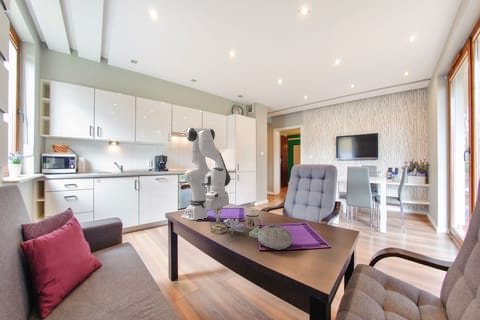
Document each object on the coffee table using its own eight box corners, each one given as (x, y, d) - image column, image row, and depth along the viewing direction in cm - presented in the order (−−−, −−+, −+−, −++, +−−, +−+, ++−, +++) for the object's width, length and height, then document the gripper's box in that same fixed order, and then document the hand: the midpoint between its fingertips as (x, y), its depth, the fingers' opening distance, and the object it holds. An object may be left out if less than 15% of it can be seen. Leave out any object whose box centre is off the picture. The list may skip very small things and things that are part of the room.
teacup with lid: (243, 227, 132) (243, 210, 132) (250, 224, 139) (250, 207, 139) (258, 231, 124) (258, 212, 125) (265, 227, 132) (265, 210, 132)
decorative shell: (297, 244, 104) (297, 225, 104) (284, 257, 90) (284, 235, 90) (267, 237, 114) (266, 220, 115) (251, 248, 100) (251, 228, 100)
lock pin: (214, 223, 125) (213, 207, 125) (217, 221, 128) (217, 206, 128) (218, 224, 123) (218, 208, 123) (221, 222, 126) (221, 206, 126)
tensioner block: (210, 232, 124) (210, 227, 124) (217, 228, 130) (217, 224, 130) (219, 234, 120) (219, 229, 120) (226, 230, 126) (226, 226, 126)
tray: (249, 236, 116) (249, 232, 116) (255, 231, 123) (255, 227, 123) (263, 239, 111) (263, 235, 111) (269, 234, 119) (269, 230, 119)
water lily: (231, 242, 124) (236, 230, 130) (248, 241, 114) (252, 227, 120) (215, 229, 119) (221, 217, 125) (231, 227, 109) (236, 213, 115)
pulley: (221, 227, 132) (221, 219, 132) (227, 225, 138) (227, 217, 138) (230, 229, 128) (230, 221, 128) (235, 226, 134) (235, 218, 134)
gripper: (223, 190, 136) (223, 210, 136) (203, 194, 118) (203, 217, 118) (231, 191, 133) (231, 211, 133) (211, 196, 115) (211, 219, 115)
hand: (217, 214), depth 125 cm, fingers closed on lock pin, 2 cm apart
